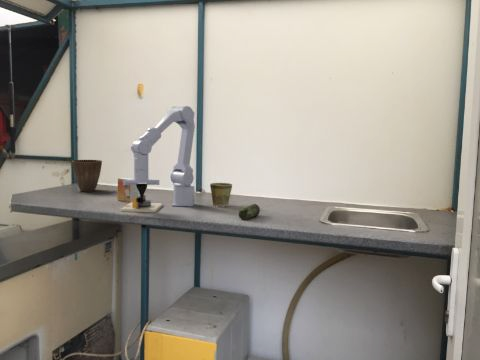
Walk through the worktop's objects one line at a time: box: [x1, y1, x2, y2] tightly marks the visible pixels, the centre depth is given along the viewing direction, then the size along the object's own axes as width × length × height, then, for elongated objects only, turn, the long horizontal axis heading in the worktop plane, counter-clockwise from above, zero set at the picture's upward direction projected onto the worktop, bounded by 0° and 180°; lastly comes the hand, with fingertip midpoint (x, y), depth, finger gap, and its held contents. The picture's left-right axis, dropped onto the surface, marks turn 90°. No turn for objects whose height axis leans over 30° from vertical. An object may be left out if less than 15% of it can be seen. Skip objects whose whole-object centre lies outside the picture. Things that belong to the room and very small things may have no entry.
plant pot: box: [71, 159, 103, 193], centre depth 215 cm, size 15×15×16 cm
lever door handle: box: [132, 194, 152, 208], centre depth 170 cm, size 12×7×4 cm, turn 169°
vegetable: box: [238, 203, 261, 220], centre depth 162 cm, size 14×5×5 cm, turn 154°
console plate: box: [120, 202, 163, 213], centre depth 173 cm, size 14×16×1 cm
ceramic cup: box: [209, 182, 233, 208], centre depth 186 cm, size 13×10×10 cm
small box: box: [117, 177, 139, 203], centre depth 189 cm, size 8×6×10 cm
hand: (141, 202), depth 168 cm, fingers closed, pressing on lever door handle
